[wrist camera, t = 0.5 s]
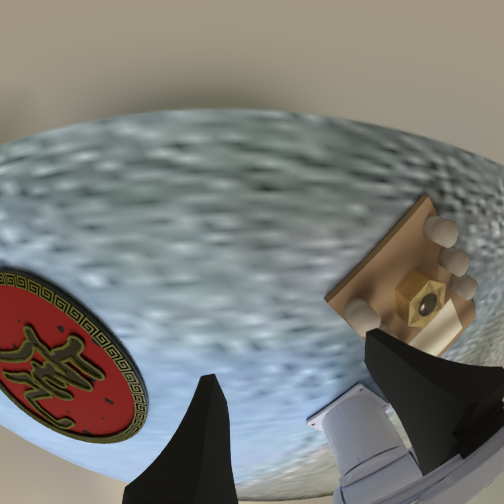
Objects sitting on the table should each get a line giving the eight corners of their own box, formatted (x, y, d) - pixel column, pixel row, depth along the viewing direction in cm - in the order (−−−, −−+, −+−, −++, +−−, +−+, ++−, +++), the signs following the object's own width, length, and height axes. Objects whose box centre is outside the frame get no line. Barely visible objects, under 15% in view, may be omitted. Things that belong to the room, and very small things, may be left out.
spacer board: (472, 312, 26) (488, 324, 23) (407, 382, 28) (419, 398, 25) (422, 194, 20) (448, 201, 17) (324, 298, 22) (339, 320, 19)
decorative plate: (-47, 331, 17) (16, 215, 16) (-42, 327, 18) (24, 213, 17) (75, 452, 26) (197, 416, 24) (76, 447, 27) (197, 408, 25)
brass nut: (422, 259, 21) (439, 269, 19) (436, 287, 23) (452, 298, 20) (384, 300, 22) (399, 313, 20) (402, 324, 23) (416, 337, 21)
